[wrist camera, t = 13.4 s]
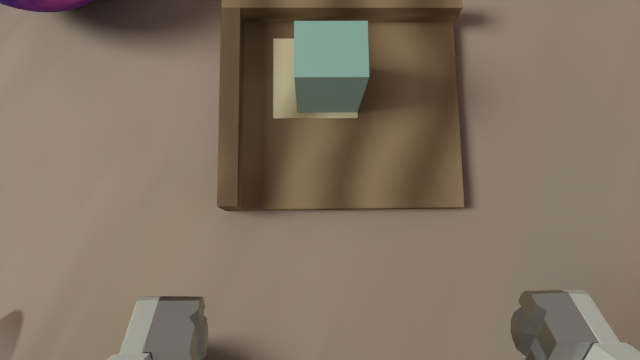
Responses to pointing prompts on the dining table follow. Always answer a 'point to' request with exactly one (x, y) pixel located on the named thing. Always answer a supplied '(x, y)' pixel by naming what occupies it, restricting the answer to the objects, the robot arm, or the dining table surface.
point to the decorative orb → (46, 4)
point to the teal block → (330, 65)
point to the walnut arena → (340, 127)
